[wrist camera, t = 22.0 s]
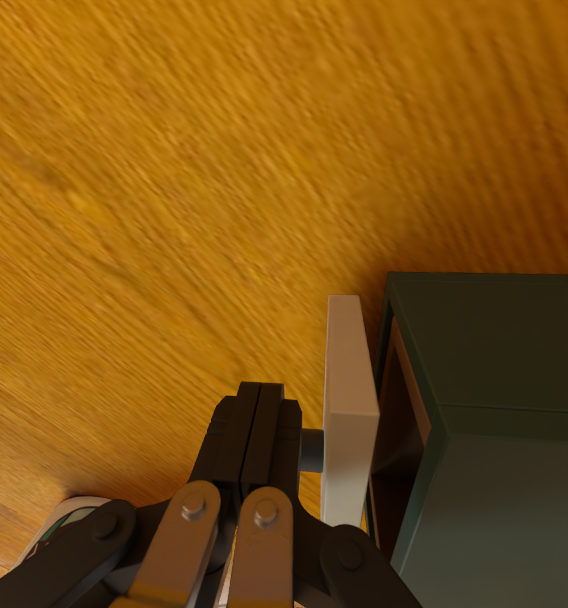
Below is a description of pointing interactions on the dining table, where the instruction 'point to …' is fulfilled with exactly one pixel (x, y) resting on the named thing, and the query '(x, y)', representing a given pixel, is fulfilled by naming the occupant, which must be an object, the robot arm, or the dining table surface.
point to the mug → (61, 522)
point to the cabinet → (484, 438)
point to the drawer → (366, 428)
